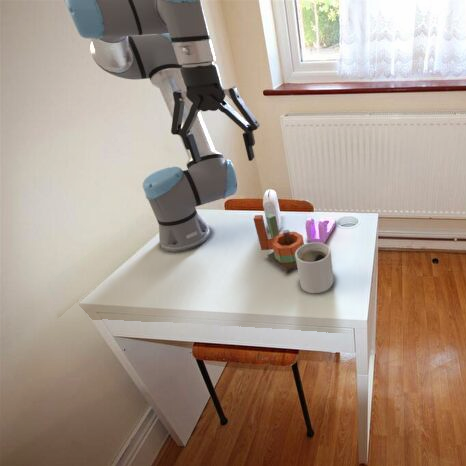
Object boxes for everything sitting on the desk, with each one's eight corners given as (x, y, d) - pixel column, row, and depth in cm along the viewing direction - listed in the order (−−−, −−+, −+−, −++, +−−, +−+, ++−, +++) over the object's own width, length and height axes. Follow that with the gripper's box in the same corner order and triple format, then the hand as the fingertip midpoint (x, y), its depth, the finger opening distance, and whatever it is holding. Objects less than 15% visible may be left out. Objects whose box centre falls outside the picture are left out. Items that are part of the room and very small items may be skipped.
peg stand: (267, 259, 97) (261, 232, 91) (294, 244, 102) (290, 218, 97) (287, 273, 90) (281, 245, 85) (315, 257, 96) (311, 230, 91)
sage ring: (310, 253, 95) (305, 222, 90) (286, 266, 91) (280, 235, 85) (286, 238, 103) (280, 209, 97) (263, 250, 98) (256, 220, 92)
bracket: (324, 243, 102) (321, 224, 98) (307, 241, 104) (304, 222, 100) (337, 222, 112) (335, 204, 109) (322, 220, 114) (320, 202, 110)
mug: (320, 298, 82) (315, 267, 76) (291, 285, 86) (285, 255, 81) (344, 273, 89) (341, 243, 84) (316, 263, 94) (312, 234, 88)
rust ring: (304, 238, 98) (299, 207, 92) (301, 255, 90) (295, 223, 85) (265, 240, 98) (258, 209, 92) (258, 257, 91) (250, 225, 85)
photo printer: (281, 232, 109) (274, 199, 102) (268, 233, 109) (260, 200, 102) (282, 217, 118) (276, 185, 111) (270, 218, 117) (263, 187, 110)
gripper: (130, 70, 66) (168, 168, 78) (251, 62, 66) (271, 163, 77) (149, 66, 73) (181, 157, 84) (260, 59, 72) (277, 152, 83)
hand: (224, 160), depth 81 cm, fingers open, 13 cm apart
